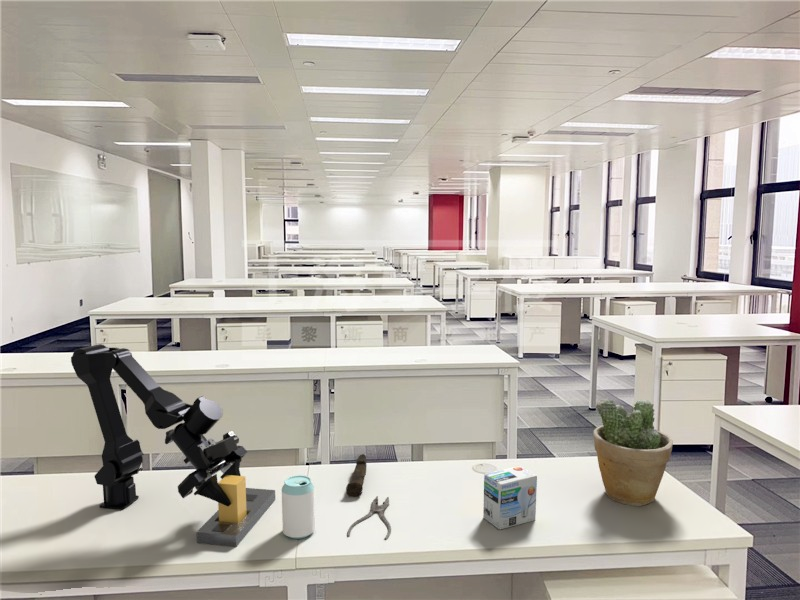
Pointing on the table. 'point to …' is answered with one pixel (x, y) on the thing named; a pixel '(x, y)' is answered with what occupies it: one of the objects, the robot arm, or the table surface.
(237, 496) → the amber peg
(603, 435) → the potted plant
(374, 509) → the pliers
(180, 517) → the table surface
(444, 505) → the table surface
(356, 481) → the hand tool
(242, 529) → the charcoal peg board
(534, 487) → the light bulb box
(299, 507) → the can
